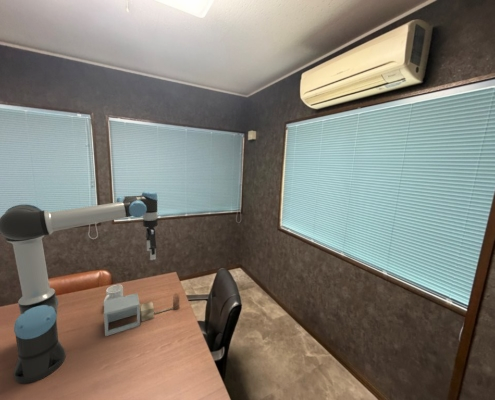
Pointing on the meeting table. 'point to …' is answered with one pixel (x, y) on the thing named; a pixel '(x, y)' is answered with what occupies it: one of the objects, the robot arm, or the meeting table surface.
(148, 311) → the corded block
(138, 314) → the box
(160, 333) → the meeting table surface
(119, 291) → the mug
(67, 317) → the meeting table surface
